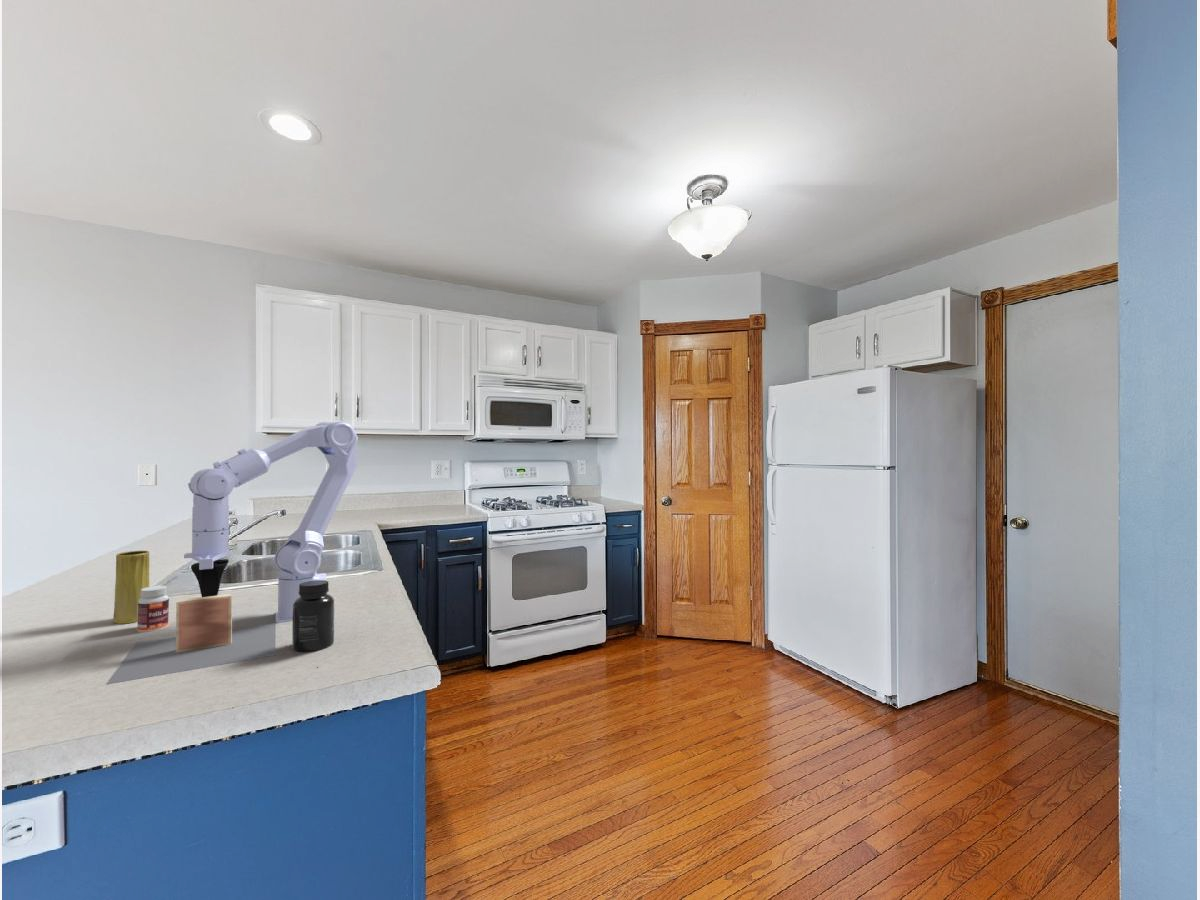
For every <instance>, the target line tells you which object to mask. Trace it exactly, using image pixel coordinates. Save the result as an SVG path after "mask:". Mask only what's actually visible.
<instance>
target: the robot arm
mask: <svg viewBox="0 0 1200 900" xmlns="http://www.w3.org/2000/svg"><path fill="white" fill-rule="evenodd" d="M358 442H359V437H358V435H357V432H356V430H355V428H354V427H353V426H352V425H351V423H349V422H347V421H344V420H342V421H341V420H338V421H334V422H327V421H324V422H319V423H317V424H316V425H311V426H308V427H305V428H303V429H301V430H299V431H297V432H294V433H293V434H290V435H289V436H287V437H285V438H283V439H281V440H279V441H278V442H275V443H274V444H271V445H269V446H267V447H266V448H263V449H262V450H259V449H255V448H249V449H246V448H242V449H240V450H238V451H237V455H233V456H232V457H229V458H228V459H225V460H223V461H221V462H220V461H218V460H217V461H215V462H214V463H212V466H213V468H203V469H200V470H198V471H197V472H195V473H194V474H193V476H192V477H191V478H190V480H189V483H188V484H187V485H188V489H189V491H190V492H191V493H192V495H193V497H192V502H193V504H192V511H191V512H192V515H191V517H192V523H191V527H192V528H191V530H192V532H191V552H187V553H184V555H183V558H184V559H192V560H194V561H196V562H195V563H193V564H191V565H190V570H191V572H192V573H193V574H194V576H195V578H196V581H197V583H198V586H199V590H200V591H199V592H200V595H201V596H200V597H208V596H217V595H219V591H220V586H221V580H222V577H223V573H224V571H225V569H226V567H227V566H228V564H229V562H230V561H229V559H228V558H226V557H229V556H230V550H229V535H230V534H229V519H230V518H229V516H230V510H229V509H230V507H229V506H230V505H229V495H230V494H231V493H232V492H233V490H234V489H235V488H239V487H240V486H242V485H244V484H246V483H249V482H250V481H252V480H254V479H257V478H258V477H260V476H262V475H265V474H266V473H268V471H269V469H270V467H271V464H273V463H274V462H277V461H280V460H282V459H284V458H286V457H288V456H290V455H292V454H295V453H297V452H299V451H301V450H303V449H306V448H314V447H315V448H317V449H318V450H319V451H320V452H321V453H322V454H323V455H324V457H325V459H326V461H327V464H328V465H329V466H328V468H327V471H325V474H324V476H323V478H322V480H321V481H320V482H321V483H320V484H319V486H318V488H317V490H316V492H315V494H314V496H313V499H312V500H311V502H310V504H309V506H308V508H307V510H306V512H305V514H304V516H303V518H302V519H301V522H300V524H299V526H298V527H297V529H296V530H295V531H294V532H292V533H291V534H290V535H289V536H288V538H287V540H286V542H285V543H284V544H282V545H281V546H280V547H279V548H278V549H277V550H276V552H275V555H274V564H275V565H276V567H277V568H278V569H279V570H280V571H279V573H278V581H277V587H278V589H277V590H278V591H277V611H275V623H276V624H278V623H285V622H293V604H294V602H295V601H296V600H297V599H298V598H300V595H299V585H300V584H301V583H304V582H308V581H315V580H325V581H328V579H327V574H326V573H325V572H323V573H317V571H318V570H319V569H320V567H321V563H322V553H323V550H324V548H325V544H324V538H323V537H324V535H325V532H326V531H327V528H328V526H329V524H330V522H331V520H332V518H333V517H334V514H335V512H336V510H337V508H338V505H339V504H340V501H342V500H341V499H342V497H343V496H344V493H345V491H346V489H347V487H348V485H349V483H350V481H351V479H352V476H353V474H354V473H355V471H356V468H357V466H358V465H357V464H358V462H357V461H358V459H357V454H358V453H357V444H358ZM222 558H223V559H222ZM224 558H226V559H224Z"/></svg>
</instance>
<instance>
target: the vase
mask: <svg viewBox="0 0 1200 900" xmlns="http://www.w3.org/2000/svg"><path fill="white" fill-rule="evenodd" d="M114 585H115V586H114V602H113V603H114V606H113V617H112V623H113V624H116V625H123V624H124V625H126V624H134V623H138V601H139V600H140V599H141V598H142V597H141V596H140V593H141V589H143V588H147V587H150V551H149V550H132V551H124V552H120V553H119V552H118V553H116V556H115V584H114Z"/></svg>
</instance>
